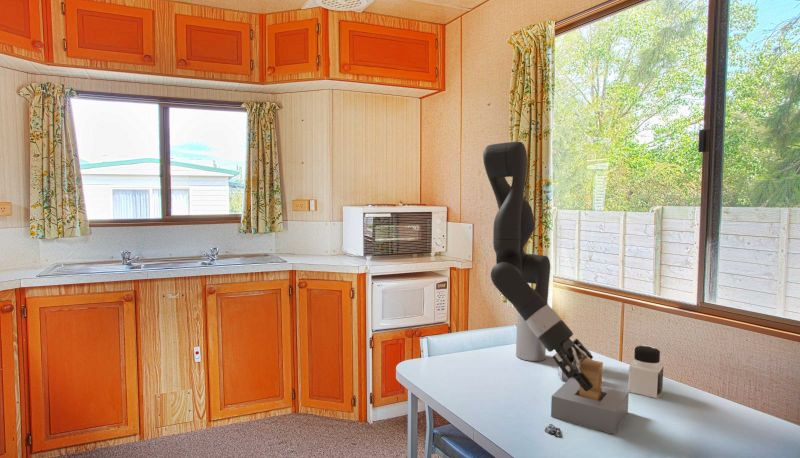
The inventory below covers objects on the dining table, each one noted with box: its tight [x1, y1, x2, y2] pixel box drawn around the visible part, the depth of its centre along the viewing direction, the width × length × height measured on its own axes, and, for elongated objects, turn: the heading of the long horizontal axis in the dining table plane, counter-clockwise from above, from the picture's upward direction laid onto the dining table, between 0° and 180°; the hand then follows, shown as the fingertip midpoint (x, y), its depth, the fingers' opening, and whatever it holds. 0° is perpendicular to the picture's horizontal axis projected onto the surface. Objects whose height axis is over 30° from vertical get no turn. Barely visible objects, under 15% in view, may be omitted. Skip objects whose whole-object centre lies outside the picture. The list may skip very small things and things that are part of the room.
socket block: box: [550, 379, 630, 435], centre depth 116 cm, size 14×14×5 cm
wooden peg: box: [579, 359, 604, 401], centre depth 116 cm, size 4×4×12 cm
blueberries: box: [543, 423, 569, 439], centre depth 107 cm, size 7×8×2 cm
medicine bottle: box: [627, 344, 664, 399], centre depth 130 cm, size 7×7×12 cm
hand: (594, 383), depth 115 cm, fingers open, 8 cm apart
